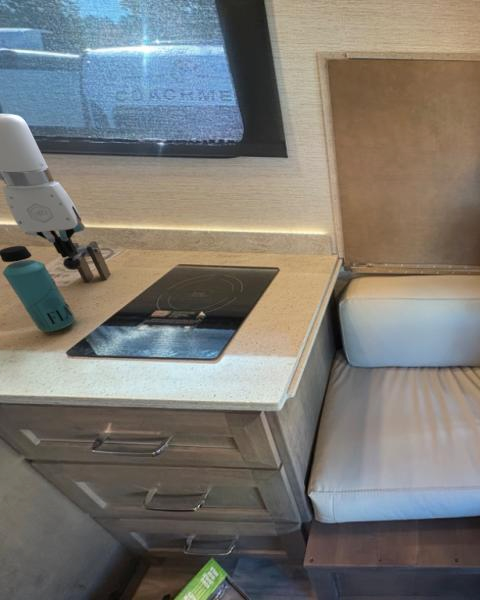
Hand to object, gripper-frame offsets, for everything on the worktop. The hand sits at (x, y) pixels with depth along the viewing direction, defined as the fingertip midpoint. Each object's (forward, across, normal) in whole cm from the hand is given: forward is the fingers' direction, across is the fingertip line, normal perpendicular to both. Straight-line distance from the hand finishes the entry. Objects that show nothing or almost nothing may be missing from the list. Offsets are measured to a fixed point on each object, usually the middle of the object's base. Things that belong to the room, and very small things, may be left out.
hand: (69, 255), depth 82 cm
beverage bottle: (+13, -2, -14) cm, 19 cm away
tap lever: (+4, 0, +4) cm, 6 cm away
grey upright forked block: (+12, 0, +9) cm, 15 cm away
